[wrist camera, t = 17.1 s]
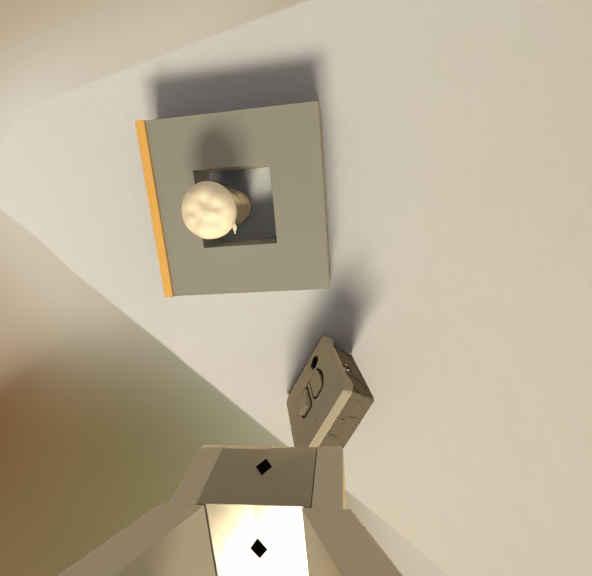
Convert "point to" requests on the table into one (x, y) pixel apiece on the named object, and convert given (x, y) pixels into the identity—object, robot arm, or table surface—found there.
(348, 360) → the electrical switch
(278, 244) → the socket block
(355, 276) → the table surface
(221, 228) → the milkshake
